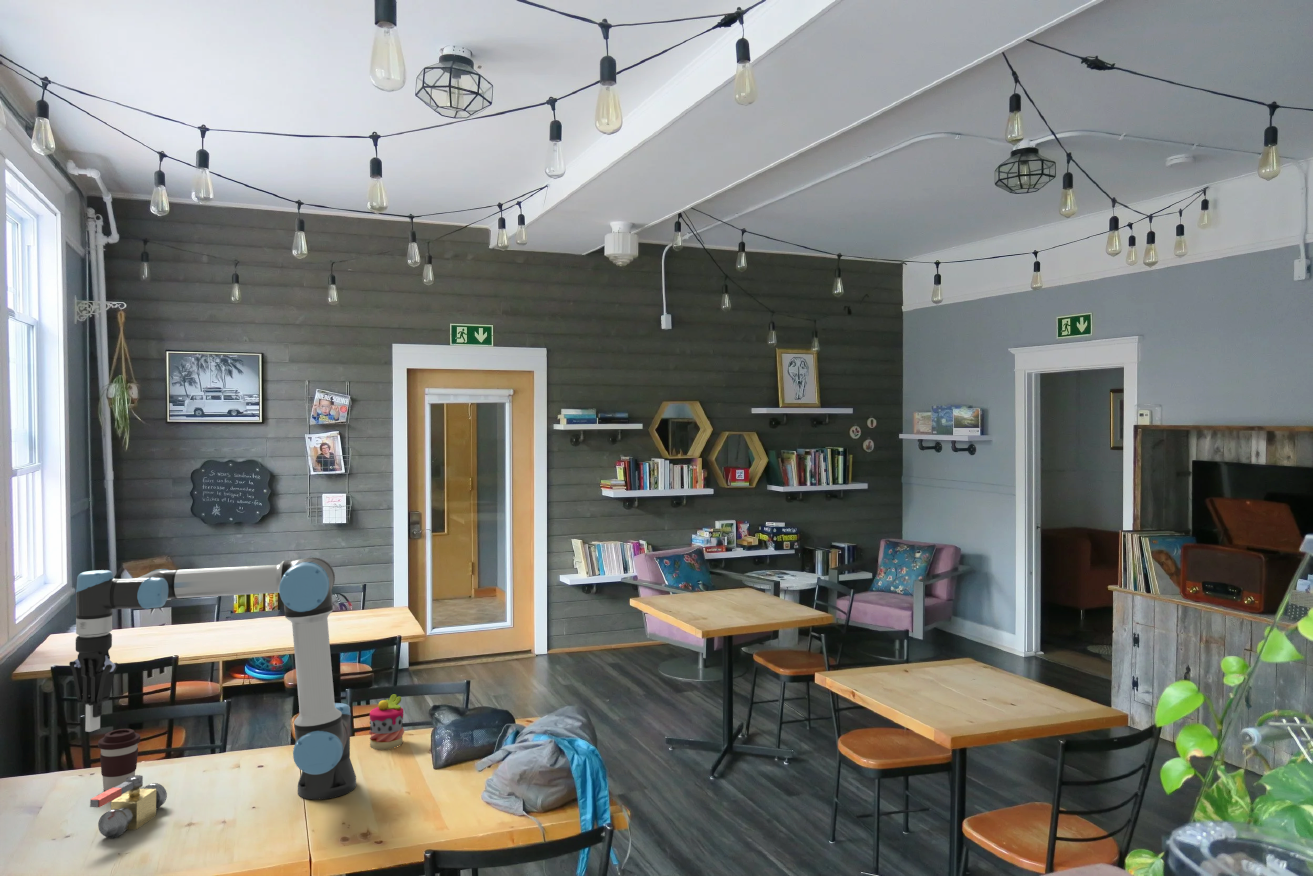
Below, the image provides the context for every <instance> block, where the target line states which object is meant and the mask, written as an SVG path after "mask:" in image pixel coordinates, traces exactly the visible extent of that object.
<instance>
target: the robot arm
mask: <svg viewBox="0 0 1313 876" xmlns="http://www.w3.org/2000/svg"><path fill="white" fill-rule="evenodd" d="M76 578H77V579H76V590H75V601H76V602H75V607H76V610H75V613H76V614H75V618H76V619H75V634H76V635H77V636H76V637H75V651H76V652H77V653H78V654H77V658H76V659H75V660H71V661H69V663H68V665H69V668H70V670H71V671H72V678H73V683H74V689H75V695H76V699H77V701H78V702H82V704H83V705H84V707H83V708H84V710H83V715H84V717H85V726H84V727H85V728H84V729H85V730H84V731H85V732H88V733H90V732H91V733H92V732H93V731H96V730H99V729H101V716H102V714H103V711H102V710H103V709H102V707H103V706H102V705H103V703H104V702H107V701H109V700H110V698H111V697H110V696H111V693H112V687H113V682H114V677H115V673H116V670H117V668H118V667H119V663H117V662H112V661H111V660H110V659H111V656H110V652H109V651H110V649H111V648H112V646H113V633H111V632H112V631H113V610H123V609H124V610H125V609H126V610H132V609H146V610H150V609H155V608H162V607H163V606H165V605H166V602H167V601H168V600H172V599H183V598H184V599H185V598H205V597H222V596H239V595H241V596H242V595H259V594H260V595H261V594H274V593H275V594H277V593H279V597H280V599H281V601H282V603H283V608H284V618H285V619H287V620H288V621H290V623H291V626H292V636H293V637H292V638H293V649H294V650H293V651H294V660H295V661H294V662H295V674H296V685H297V696H298V697H297V698H298V706H299V707H298V708H299V709H298V710H299V711H298V712H299V714H298V716H297V717H295V719H294V721H293V727H294V739H295V744H294V746H293V750H292V755H293V756H292V757H293V761H294V764H295V765H296V767H297V768H298V769H299V770H301V773H300V777H299V779H298V782H297V795H298V796H299V797H300V798H303V799H306V800H307V799H308V800H327V799H334V798H338V797H342V796H344V795H347V794H348V793H350V792H352V791H353V790H354V789H355V788H356V787H357V775H356V772H355V770H354V767H353V763H352V760H351V757H350V756H351V753H350V752H351V716H352V714H351V707H350V705H349V704H346V703H343V702H341V703H340V702H335V692H334V682H333V681H334V680H333V671H332V670H333V667H332V657H331V646H330V634H329V623H328V622H329V619H328V617H329V616H330V614H331V613H332V612H333V611H334V607H333V605H334V604H333V594H332V589H333V588H334V585H335V581H336V575H335V570H334V569H333V567H332V566H331V564H330V563H329V562H327V561H326V560H324V559H322V558H320V557H305V558H300V559H292V560H282V561H281V562H280V563H279V564H268V565H267V564H265V565H247V566H244V565H243V566H230V567H229V566H228V567H209V568H207V567H205V568H189V569H188V568H187V569H177V570H176V569H172V570H170V569H167V568H159V569H154V570H152V571H149V572H147V573H146V574H143V575H141V576H139V577H134V578H133V577H132V578H129V577H128V578H115V577H114V573H113V571H111V570H108V569H105V570H104V569H101V570H100V569H99V570H96V569H95V570H88V571H83V572H81V573H79V574H78V575H77V577H76Z"/></svg>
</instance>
